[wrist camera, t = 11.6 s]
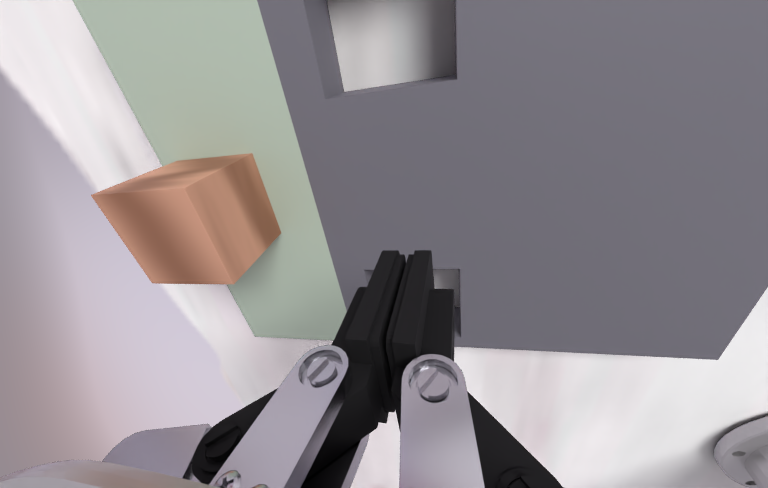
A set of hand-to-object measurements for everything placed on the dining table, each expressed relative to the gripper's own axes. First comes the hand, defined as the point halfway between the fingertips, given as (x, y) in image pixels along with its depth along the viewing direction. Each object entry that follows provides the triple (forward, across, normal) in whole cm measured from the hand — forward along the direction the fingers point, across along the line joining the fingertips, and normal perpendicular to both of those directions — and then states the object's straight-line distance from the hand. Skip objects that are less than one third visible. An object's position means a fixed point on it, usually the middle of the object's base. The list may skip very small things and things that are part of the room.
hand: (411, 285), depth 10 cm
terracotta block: (+6, +12, -1) cm, 13 cm away
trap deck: (+10, 0, -1) cm, 10 cm away
